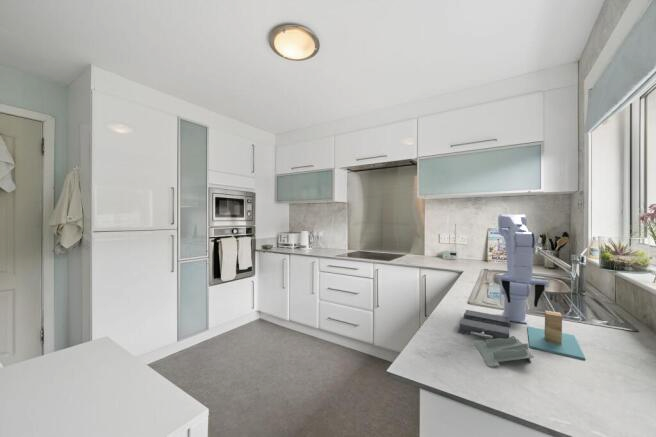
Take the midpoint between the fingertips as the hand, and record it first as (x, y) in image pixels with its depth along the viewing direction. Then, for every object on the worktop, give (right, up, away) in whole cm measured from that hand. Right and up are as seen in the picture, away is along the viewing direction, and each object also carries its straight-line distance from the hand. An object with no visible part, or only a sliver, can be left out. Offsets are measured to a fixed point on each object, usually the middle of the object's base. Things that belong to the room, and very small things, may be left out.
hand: (522, 304), depth 97 cm
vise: (-11, -10, +4) cm, 15 cm away
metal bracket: (-17, -11, -15) cm, 25 cm away
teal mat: (+6, -11, -7) cm, 14 cm away
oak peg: (+5, -10, -7) cm, 13 cm away
